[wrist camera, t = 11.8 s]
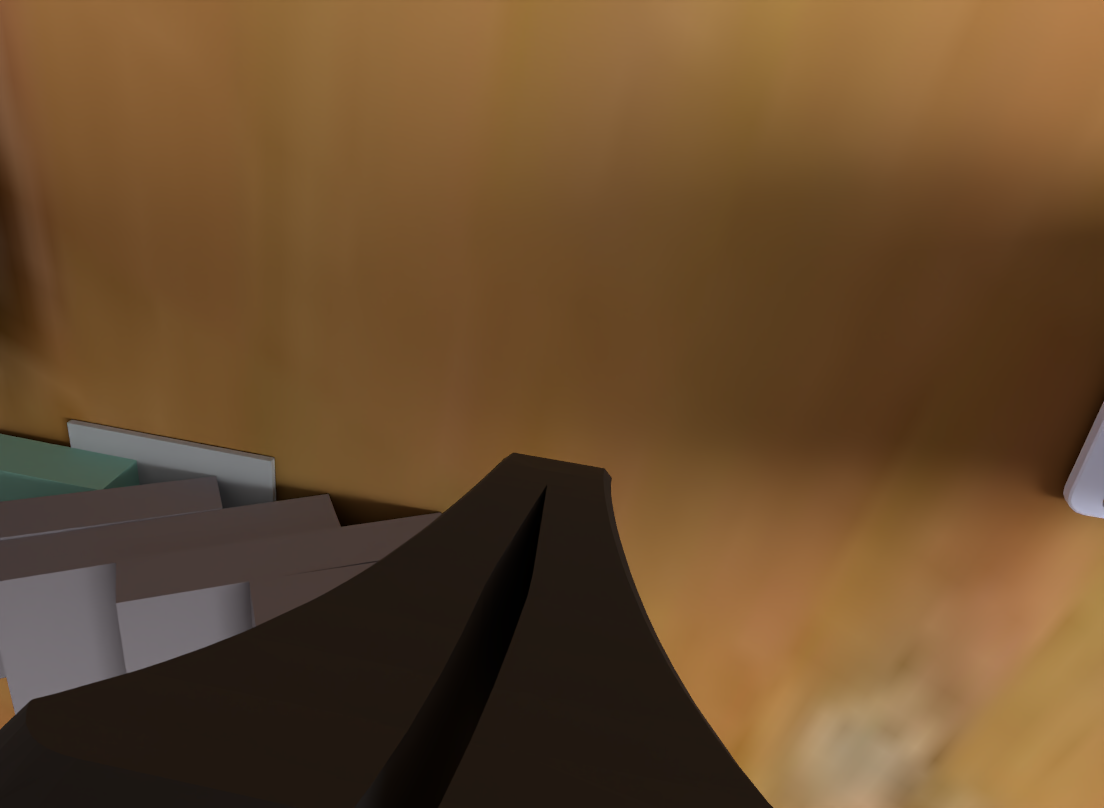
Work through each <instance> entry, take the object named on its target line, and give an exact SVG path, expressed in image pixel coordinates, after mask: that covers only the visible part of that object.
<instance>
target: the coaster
mask: <svg viewBox="0 0 1104 808" xmlns="http://www.w3.org/2000/svg"><path fill="white" fill-rule="evenodd" d="M67 426H68V432H69V438H70V444H71V448H76V449H81V450H86V451H92V452H97V453H102V454H107V455H112V456H117V457H122V458H128V459H133V460H137V468H138V476H139V484H140V485H144V484H152V483H161V482H169V481H178V480H186V479H194V478H203V477H211V476H216V478H217V483H218V488H219V493H220V498H221V503H222V508H223V509H225V508H232V507H239V506H246V505H253V504H260V503H267V502H274V501H276V483H275V459H274V458H273V457H268V456H262V455H257V454H252V453H247V452H241V451H236V450H231V449H225V448H220V447H215V446H209V445H204V444H199V443H194V442H188V441H183V440H178V439H172V438H167V437H162V436H156V435H151V434H146V433H141V432H135V431H130V430H125V429H119V428H114V427H109V426H103V425H98V424H93V423H87V422H82V421H77V420H70V421H69V422H67Z"/></svg>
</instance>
